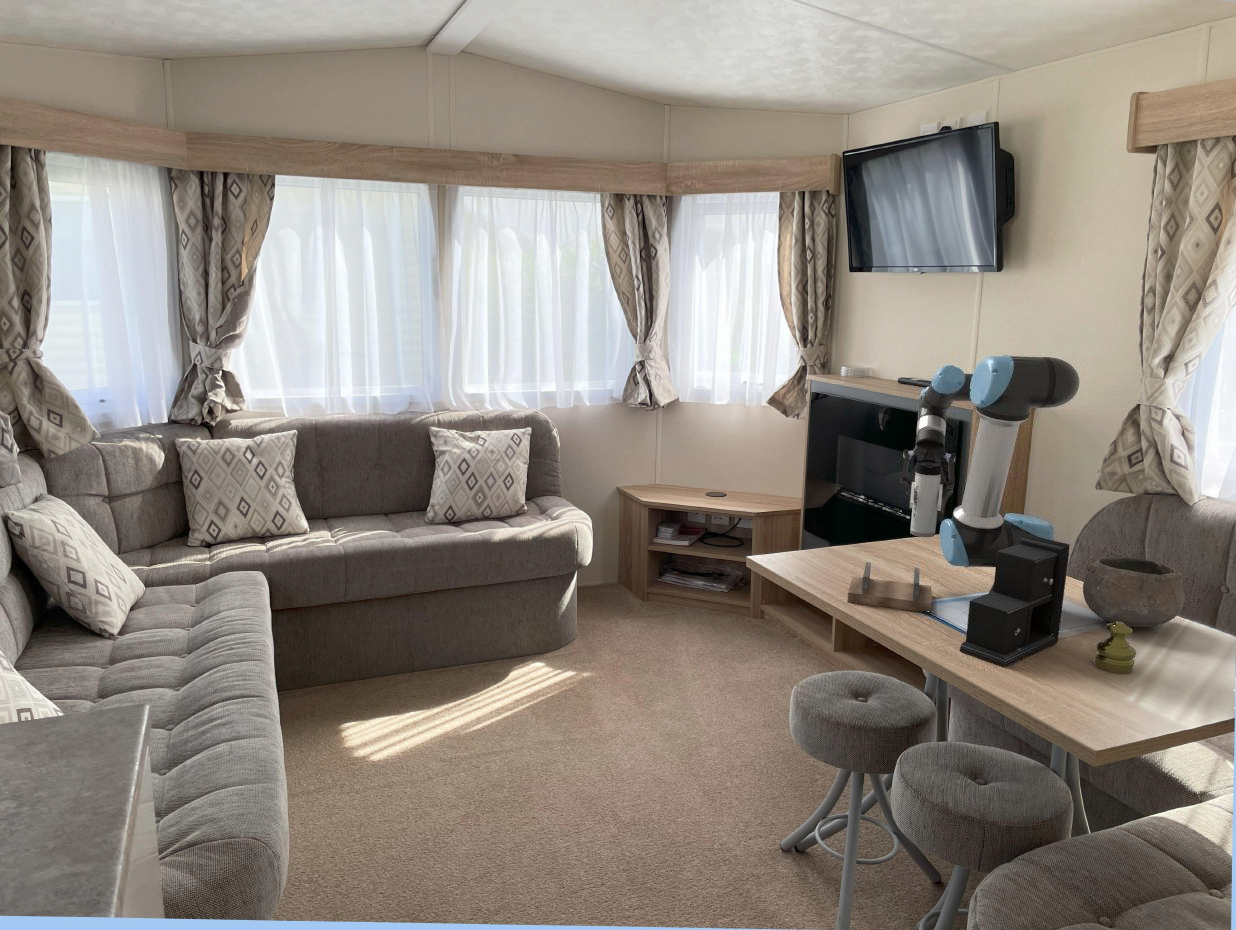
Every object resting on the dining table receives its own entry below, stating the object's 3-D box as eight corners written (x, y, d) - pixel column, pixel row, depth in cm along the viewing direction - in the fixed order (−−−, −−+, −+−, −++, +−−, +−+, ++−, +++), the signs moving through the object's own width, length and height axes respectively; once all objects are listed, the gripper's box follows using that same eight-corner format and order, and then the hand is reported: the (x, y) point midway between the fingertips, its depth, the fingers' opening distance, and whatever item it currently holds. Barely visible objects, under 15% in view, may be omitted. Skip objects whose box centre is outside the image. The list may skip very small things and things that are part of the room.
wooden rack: (930, 595, 235) (932, 569, 234) (930, 612, 222) (933, 585, 220) (851, 585, 241) (853, 560, 240) (847, 601, 228) (849, 575, 227)
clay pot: (1064, 620, 219) (1072, 560, 216) (1101, 602, 233) (1108, 546, 230) (1159, 647, 204) (1168, 584, 201) (1192, 627, 217) (1202, 567, 214)
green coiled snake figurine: (1123, 677, 187) (1129, 631, 185) (1087, 665, 193) (1093, 620, 191) (1139, 669, 191) (1146, 624, 189) (1104, 657, 197) (1110, 614, 195)
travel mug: (934, 532, 243) (941, 459, 240) (934, 538, 237) (942, 463, 233) (910, 530, 245) (917, 457, 242) (909, 535, 239) (916, 461, 235)
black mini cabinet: (1004, 668, 190) (1017, 561, 185) (958, 651, 198) (969, 548, 194) (1059, 644, 204) (1071, 544, 200) (1013, 629, 213) (1024, 532, 208)
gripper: (966, 446, 248) (963, 517, 236) (893, 441, 254) (886, 510, 242) (969, 430, 242) (965, 502, 230) (894, 425, 248) (887, 495, 236)
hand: (925, 506), depth 236 cm, fingers closed on travel mug, 6 cm apart
